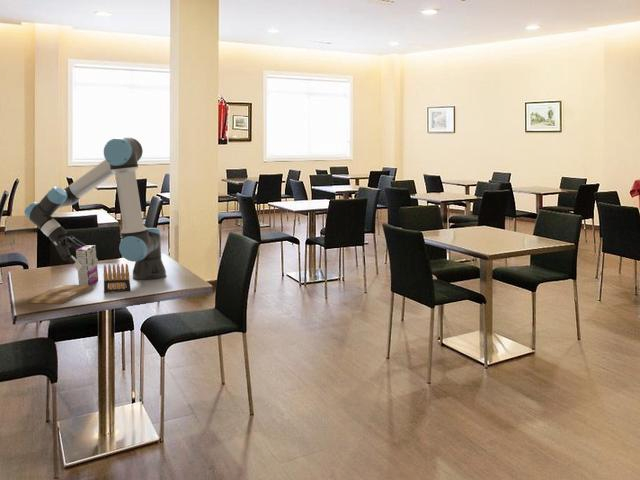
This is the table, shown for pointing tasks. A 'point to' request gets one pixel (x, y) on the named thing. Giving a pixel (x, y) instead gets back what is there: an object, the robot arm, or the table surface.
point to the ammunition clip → (116, 279)
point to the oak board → (60, 294)
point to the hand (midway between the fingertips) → (88, 265)
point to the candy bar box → (87, 265)
